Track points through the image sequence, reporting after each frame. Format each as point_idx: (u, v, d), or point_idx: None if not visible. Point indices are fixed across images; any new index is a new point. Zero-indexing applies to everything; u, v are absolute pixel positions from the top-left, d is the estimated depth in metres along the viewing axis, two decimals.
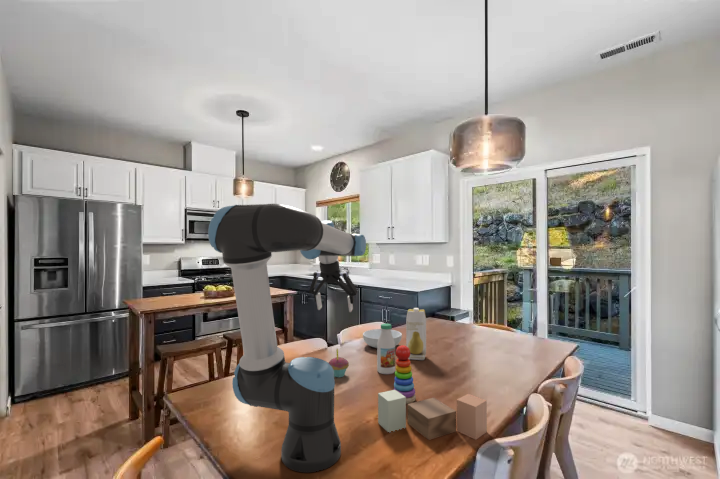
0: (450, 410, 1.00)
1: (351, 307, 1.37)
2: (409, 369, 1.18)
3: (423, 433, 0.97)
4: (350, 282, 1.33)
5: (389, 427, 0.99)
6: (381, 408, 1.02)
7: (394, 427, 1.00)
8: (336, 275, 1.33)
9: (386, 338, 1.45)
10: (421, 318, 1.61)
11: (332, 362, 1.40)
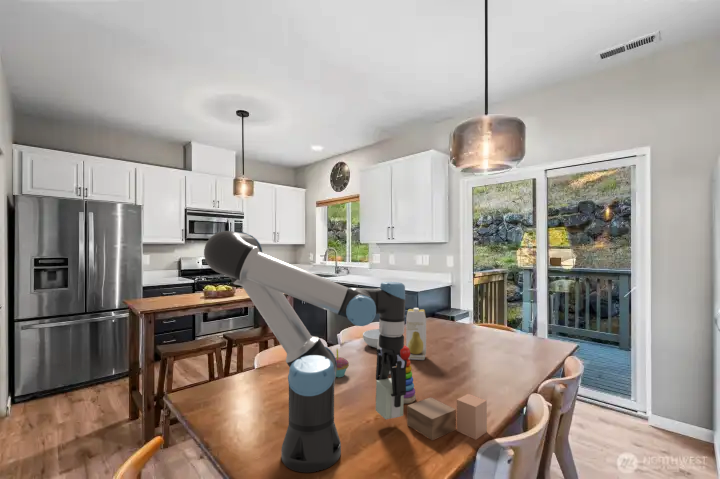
0: (450, 409, 1.01)
1: (395, 412, 0.99)
2: (409, 369, 1.18)
3: (426, 434, 0.96)
4: (401, 377, 0.97)
5: (386, 414, 0.99)
6: (379, 395, 1.02)
7: None
8: (393, 356, 1.00)
9: None
10: (421, 318, 1.61)
11: None
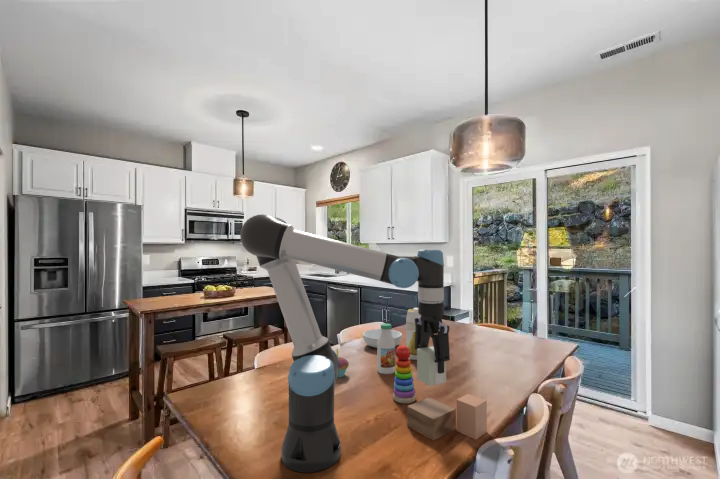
0: (450, 408, 1.01)
1: (439, 379, 0.99)
2: (409, 369, 1.18)
3: (427, 435, 0.96)
4: (444, 342, 0.96)
5: (430, 380, 0.98)
6: (421, 362, 1.01)
7: None
8: (434, 322, 0.99)
9: (386, 338, 1.45)
10: None
11: None
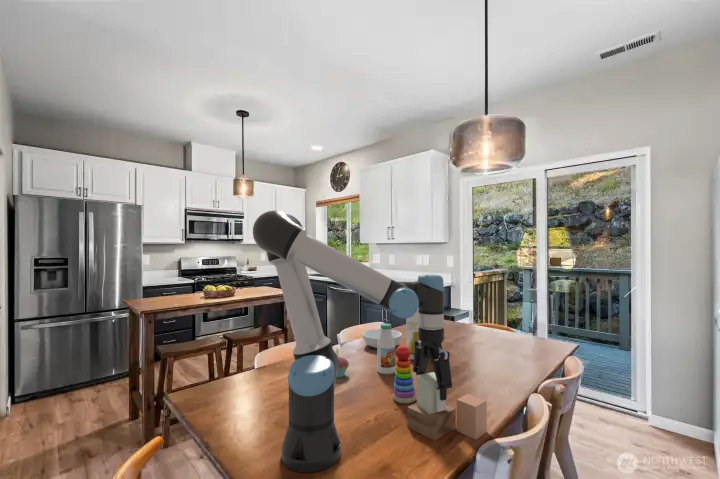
0: (450, 408, 1.01)
1: (441, 406, 0.97)
2: (409, 369, 1.18)
3: (429, 435, 0.96)
4: (446, 369, 0.96)
5: (430, 408, 0.98)
6: (421, 389, 1.01)
7: (435, 409, 0.99)
8: (434, 349, 0.99)
9: (386, 338, 1.45)
10: None
11: None
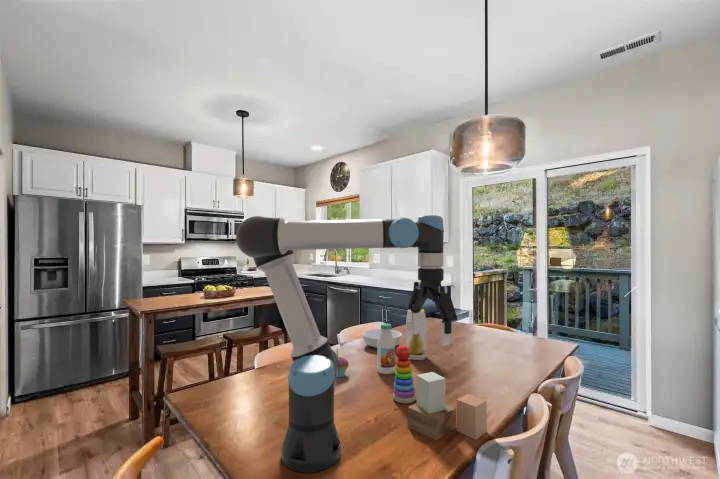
0: (450, 408, 1.01)
1: (446, 340, 0.96)
2: (409, 369, 1.18)
3: (430, 435, 0.96)
4: (448, 301, 0.95)
5: (429, 408, 0.98)
6: (421, 389, 1.01)
7: (434, 408, 0.99)
8: (433, 288, 0.99)
9: (386, 338, 1.45)
10: (421, 318, 1.61)
11: None
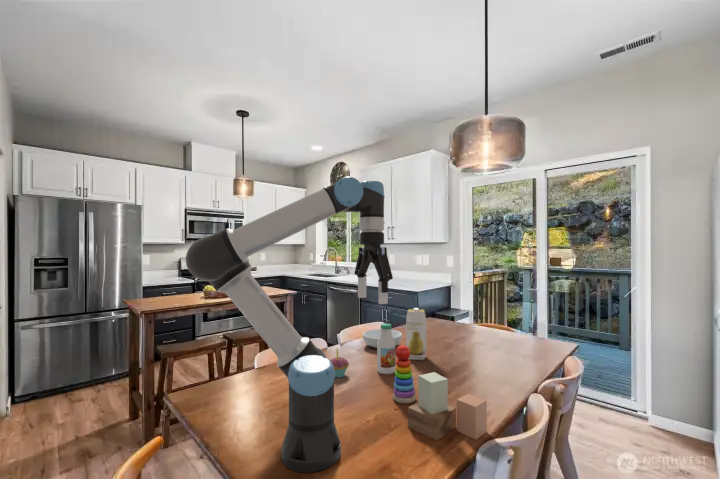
0: (450, 408, 1.02)
1: (383, 299, 1.00)
2: (409, 369, 1.18)
3: (430, 435, 0.96)
4: (384, 261, 0.99)
5: (432, 409, 0.98)
6: (423, 390, 1.01)
7: (437, 409, 0.99)
8: (373, 250, 1.03)
9: (386, 338, 1.45)
10: (421, 318, 1.61)
11: (332, 362, 1.40)
